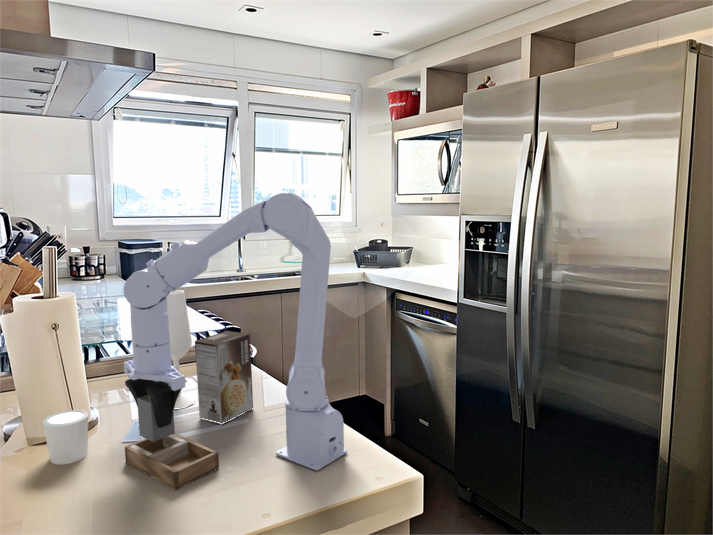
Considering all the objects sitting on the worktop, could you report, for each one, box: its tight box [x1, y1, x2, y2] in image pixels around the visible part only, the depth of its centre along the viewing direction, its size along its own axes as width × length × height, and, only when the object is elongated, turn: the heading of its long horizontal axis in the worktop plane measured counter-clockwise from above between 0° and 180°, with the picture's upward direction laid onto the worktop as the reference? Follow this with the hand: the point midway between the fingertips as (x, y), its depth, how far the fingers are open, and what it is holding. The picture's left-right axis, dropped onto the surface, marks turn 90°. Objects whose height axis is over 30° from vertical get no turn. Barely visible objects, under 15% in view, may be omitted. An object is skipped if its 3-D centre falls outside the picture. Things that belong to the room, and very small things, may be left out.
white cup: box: [42, 409, 89, 465], centre depth 93 cm, size 7×7×7 cm
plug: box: [137, 395, 176, 442], centre depth 91 cm, size 4×4×8 cm
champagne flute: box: [166, 289, 195, 408], centre depth 114 cm, size 7×7×24 cm
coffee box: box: [194, 330, 254, 423], centre depth 109 cm, size 9×6×16 cm
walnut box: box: [124, 432, 220, 491], centre depth 90 cm, size 14×8×3 cm, turn 52°
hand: (156, 421), depth 91 cm, fingers closed on plug, 4 cm apart
